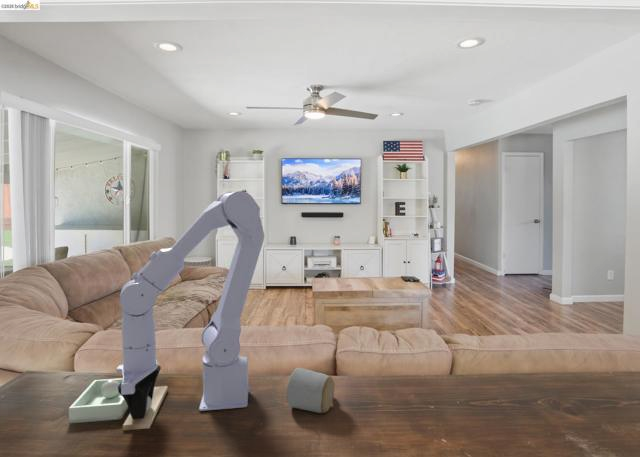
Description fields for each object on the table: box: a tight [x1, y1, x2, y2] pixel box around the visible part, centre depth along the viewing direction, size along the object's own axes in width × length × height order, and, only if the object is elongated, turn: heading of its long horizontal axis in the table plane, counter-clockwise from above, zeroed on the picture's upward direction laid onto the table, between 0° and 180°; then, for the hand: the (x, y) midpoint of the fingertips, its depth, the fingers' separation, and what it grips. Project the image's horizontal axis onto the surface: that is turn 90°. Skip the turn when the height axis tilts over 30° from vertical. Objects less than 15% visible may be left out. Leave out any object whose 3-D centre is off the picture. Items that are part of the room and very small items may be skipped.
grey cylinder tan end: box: [286, 366, 335, 414], centre depth 78 cm, size 11×8×8 cm
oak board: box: [122, 385, 169, 431], centre depth 77 cm, size 5×14×1 cm, turn 9°
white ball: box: [101, 380, 120, 398], centre depth 80 cm, size 4×4×4 cm
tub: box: [68, 377, 129, 424], centre depth 78 cm, size 9×11×3 cm
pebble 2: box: [146, 396, 152, 413], centre depth 73 cm, size 4×4×4 cm
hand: (141, 411), depth 73 cm, fingers closed on pebble 2, 3 cm apart
